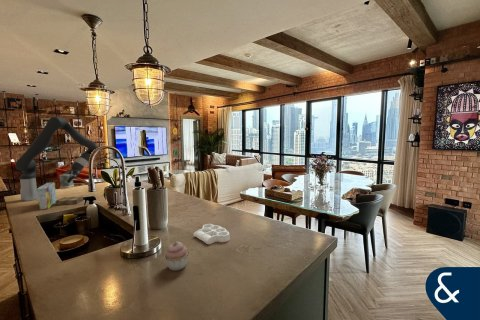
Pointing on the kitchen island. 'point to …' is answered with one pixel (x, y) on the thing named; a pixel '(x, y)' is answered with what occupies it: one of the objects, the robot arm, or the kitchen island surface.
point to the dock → (69, 200)
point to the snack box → (46, 195)
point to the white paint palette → (212, 234)
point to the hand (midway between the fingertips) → (64, 181)
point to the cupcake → (176, 256)
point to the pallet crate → (65, 181)
